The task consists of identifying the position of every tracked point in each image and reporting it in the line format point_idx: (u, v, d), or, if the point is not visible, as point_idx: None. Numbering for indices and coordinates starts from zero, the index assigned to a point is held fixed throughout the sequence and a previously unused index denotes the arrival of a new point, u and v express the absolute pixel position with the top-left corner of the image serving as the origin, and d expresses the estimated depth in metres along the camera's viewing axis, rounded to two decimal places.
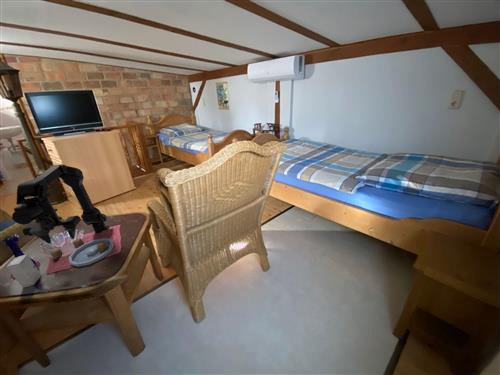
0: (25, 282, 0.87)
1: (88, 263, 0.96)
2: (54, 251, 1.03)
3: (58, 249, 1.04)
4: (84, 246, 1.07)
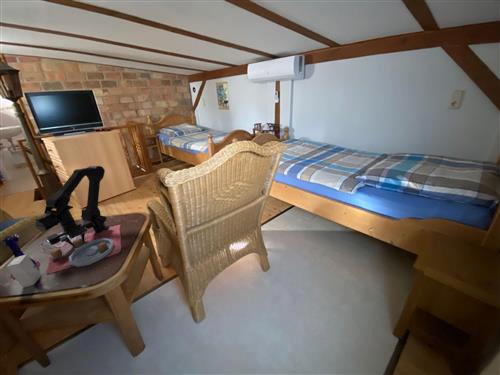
0: (25, 282, 0.87)
1: (88, 263, 0.96)
2: (54, 251, 1.03)
3: (58, 249, 1.04)
4: (84, 246, 1.07)
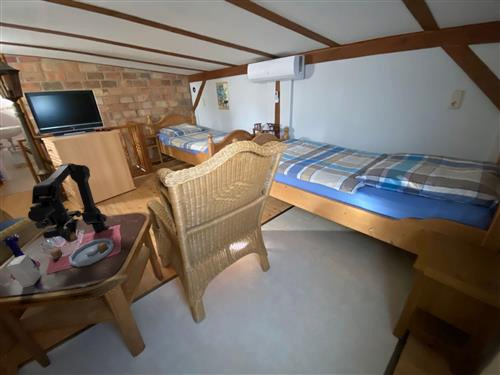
0: (25, 282, 0.87)
1: (88, 263, 0.96)
2: (54, 251, 1.03)
3: (58, 249, 1.04)
4: (84, 246, 1.07)
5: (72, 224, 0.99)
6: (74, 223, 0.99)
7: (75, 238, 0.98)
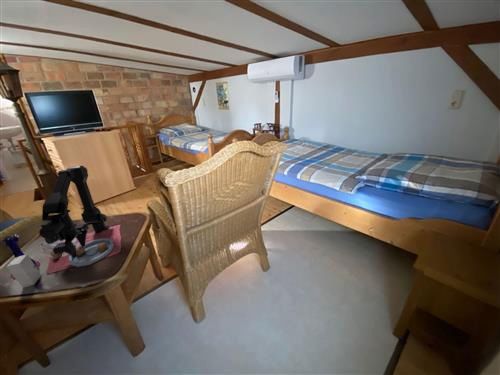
0: (25, 282, 0.87)
1: (88, 263, 0.96)
2: None
3: None
4: (84, 246, 1.07)
5: (82, 235, 1.04)
6: (83, 234, 1.04)
7: (84, 253, 1.02)
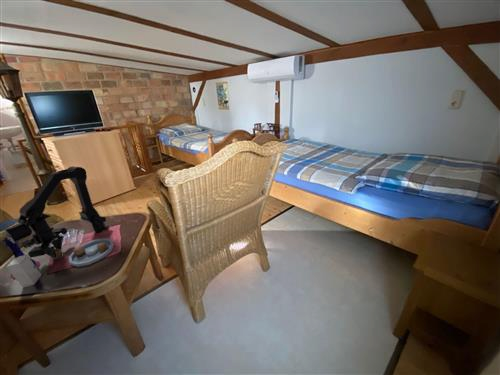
0: (25, 282, 0.87)
1: (88, 263, 0.96)
2: None
3: (58, 249, 1.04)
4: (84, 246, 1.07)
5: (57, 241, 1.04)
6: (59, 240, 1.04)
7: (84, 253, 1.02)
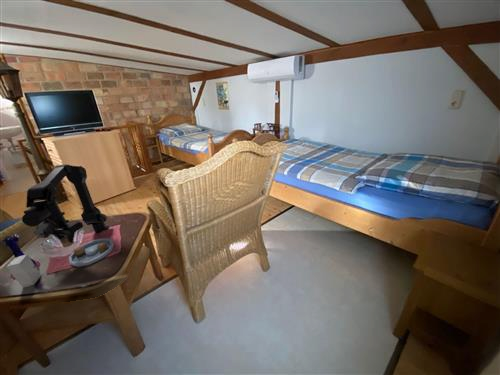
0: (25, 282, 0.87)
1: (88, 263, 0.96)
2: (65, 238, 0.95)
3: None
4: (84, 246, 1.07)
5: (60, 229, 0.95)
6: None
7: (84, 253, 1.02)
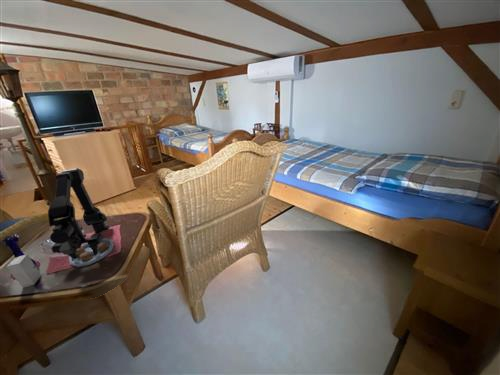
0: (25, 282, 0.87)
1: (88, 263, 0.96)
2: (85, 254, 0.97)
3: (83, 253, 0.98)
4: (84, 246, 1.07)
5: None
6: None
7: None
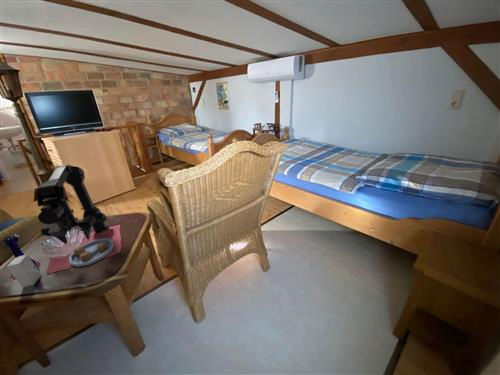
0: (25, 282, 0.87)
1: (88, 263, 0.96)
2: (85, 254, 0.97)
3: (83, 253, 0.98)
4: (84, 246, 1.07)
5: None
6: None
7: None
